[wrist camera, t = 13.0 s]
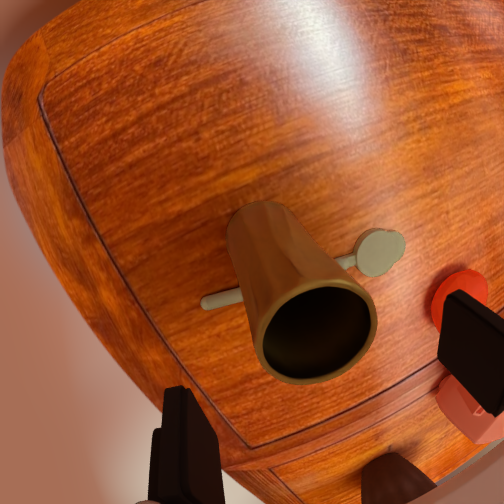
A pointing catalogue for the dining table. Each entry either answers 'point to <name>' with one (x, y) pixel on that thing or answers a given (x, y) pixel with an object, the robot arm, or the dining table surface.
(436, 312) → the pumpkin
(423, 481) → the flower pot
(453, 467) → the dining table surface
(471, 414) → the teapot
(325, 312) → the vase
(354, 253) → the spoon
